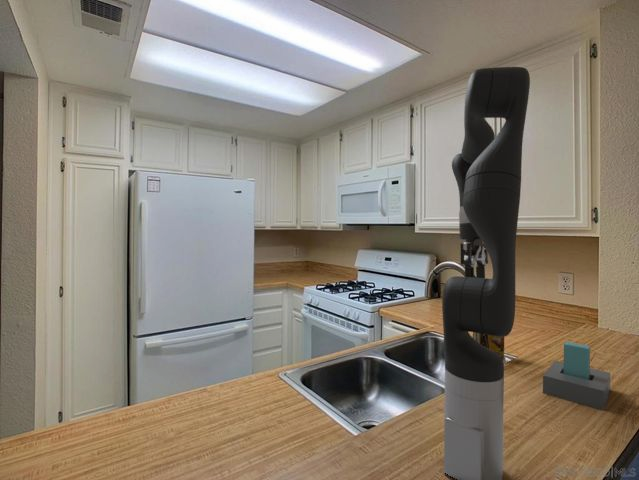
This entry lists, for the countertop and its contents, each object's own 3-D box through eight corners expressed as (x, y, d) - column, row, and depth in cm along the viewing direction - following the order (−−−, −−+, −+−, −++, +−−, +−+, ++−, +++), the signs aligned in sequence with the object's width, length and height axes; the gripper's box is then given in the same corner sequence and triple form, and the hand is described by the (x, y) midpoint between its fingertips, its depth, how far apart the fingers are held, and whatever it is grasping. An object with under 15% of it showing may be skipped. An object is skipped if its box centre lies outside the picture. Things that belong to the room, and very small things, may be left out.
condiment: (505, 363, 106) (505, 325, 106) (475, 358, 110) (475, 321, 110) (505, 355, 112) (506, 319, 112) (477, 351, 116) (477, 316, 116)
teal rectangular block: (587, 396, 84) (588, 348, 84) (563, 390, 88) (563, 344, 88) (589, 392, 86) (590, 346, 86) (565, 386, 90) (566, 341, 90)
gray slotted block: (604, 410, 78) (604, 391, 78) (542, 392, 86) (543, 375, 86) (610, 390, 88) (610, 372, 88) (554, 376, 96) (554, 360, 96)
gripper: (478, 219, 88) (480, 282, 87) (496, 223, 98) (497, 279, 97) (450, 221, 93) (451, 281, 92) (469, 225, 103) (471, 278, 103)
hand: (475, 280), depth 95 cm, fingers open, 8 cm apart
